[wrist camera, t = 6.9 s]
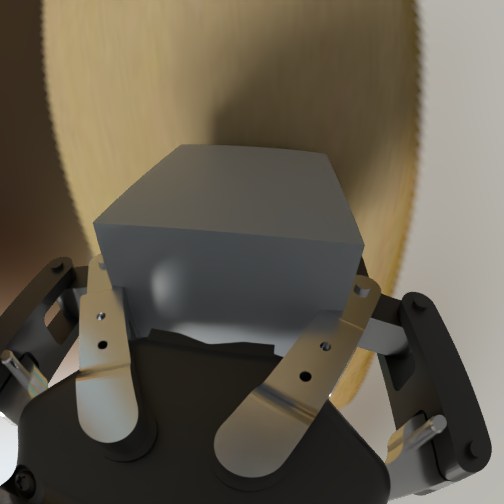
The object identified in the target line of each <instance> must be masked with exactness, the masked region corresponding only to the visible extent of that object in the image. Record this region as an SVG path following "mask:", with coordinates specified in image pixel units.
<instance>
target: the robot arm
mask: <svg viewBox="0 0 504 504" xmlns="http://www.w3.org/2000/svg"><path fill="white" fill-rule="evenodd" d="M55 301H57V303H58V305H59V307H60V311H59V312H58V313H57V315H56V316H55V317H54V319H53V320H52V321H51V322H50V324H49V325H48V326H47V327H46V325H45V323H44V317H45V314H46V312H47V311H48V310H49V308H50V307H51V306H52V305H53V303H54V302H55ZM78 336H79V365H80V366H79V367H80V369H79V370H78V371H76V372H74V373H73V374H71V375H70V376H68V377H66V378H65V379H63V380H61V381H60V382H58V383H57V384H55V385H53V386H52V387H50V388H48V383H49V382H50V380H51V378H52V377H53V375H54V373H55V372H56V370H57V369H58V367H59V365H60V364H61V362H62V360H63V359H64V357H65V356H66V354H67V353H68V351H69V350H70V348H71V347H72V345H73V344H74V342H75V341H76V339H77V337H78ZM357 347H360V348H363V349H367V350H370V351H373V352H376V353H377V356H378V359H379V363H380V366H381V370H382V373H383V377H384V380H385V385H386V389H387V392H388V396H389V400H390V405H391V409H392V413H393V417H394V422H395V426H396V432H394V434H392V436H391V437H390V439H389V442H388V446H387V448H388V454H387V459H386V461H385V463H384V462H383V461H382V460H381V458H380V457H379V456H378V455H377V454H376V453H375V451H374V450H373V449H372V448H371V447H370V446H369V445H368V444H367V443H366V441H365V440H364V439H363V438H362V437H361V436H360V435H359V434H358V433H357V431H356V430H355V429H354V428H353V427H352V426H351V425H350V423H349V422H348V421H347V420H346V419H345V418H344V417H343V415H342V414H341V413H340V412H339V411H338V410H337V409H336V407H335V406H334V405H333V404H332V403H331V402H330V400H329V398H330V396H331V394H332V393H333V391H334V389H335V387H336V386H337V384H338V382H339V380H340V378H341V377H342V375H343V373H344V371H345V369H346V368H347V366H348V364H349V362H350V360H351V358H352V356H353V354H354V352H355V350H356V349H357ZM274 349H275V345H273V344H262V343H252V342H233V343H220V344H207V343H204V342H201V341H199V340H196V339H194V338H191V337H188V336H186V335H183V334H181V333H177V332H171V331H165V330H159V329H153V328H151V331H150V333H149V335H148V337H141V335H140V332H139V330H137V327H136V325H135V322H134V319H133V316H132V313H131V310H130V307H129V302H128V297H127V294H126V291H125V288H124V287H121V286H114V285H111V283H110V280H109V277H108V273H107V270H106V267H105V264H104V261H103V257H102V254H98V255H97V256H95V257H94V258H93V259H92V260H91V261H90V263H89V266H82V267H74V265H73V263H72V260H71V259H70V258H68V257H59V258H56V259H54V260H52V261H51V262H49V263H48V264H47V265H46V266H45V267H44V268H43V269H42V270H41V271H40V272H39V273H38V274H37V275H36V277H35V278H34V279H33V280H32V281H31V282H30V283H29V284H28V285H27V286H26V287H25V288H24V290H23V291H22V292H21V293H20V294H19V295H18V296H17V297H16V299H15V300H14V301H13V302H12V303H11V305H9V307H8V308H7V309H6V310H5V312H4V313H3V314H2V315H1V316H0V416H2V417H3V418H4V419H6V420H7V421H8V422H9V423H11V424H12V425H15V426H18V460H17V466H16V469H15V471H14V473H13V475H12V476H11V477H10V478H9V480H7V481H6V482H5V483H4V484H2V485H1V486H0V504H387V502H388V501H390V500H394V499H398V498H401V497H404V496H408V495H411V494H415V495H426V494H429V493H431V492H434V491H436V490H439V489H441V488H444V487H446V486H449V485H451V484H453V483H455V482H457V481H460V480H462V479H464V478H466V477H468V476H470V475H472V474H474V473H476V472H478V471H480V470H482V469H483V468H484V467H485V466H486V465H487V463H488V462H489V460H490V457H491V452H492V447H491V441H490V438H489V434H488V431H487V428H486V425H485V421H484V418H483V415H482V412H481V409H480V407H479V404H478V401H477V399H476V395H475V393H474V390H473V387H472V385H471V382H470V380H469V377H468V375H467V372H466V370H465V368H464V365H463V363H462V361H461V358H460V356H459V354H458V351H457V349H456V347H455V345H454V343H453V341H452V339H451V336H450V334H449V332H448V330H447V328H446V326H445V324H444V322H443V320H442V318H441V316H440V314H439V312H438V310H437V309H436V307H435V305H434V303H433V302H432V301H431V300H430V299H429V298H428V297H427V296H425V295H423V294H421V293H417V292H409V293H407V294H405V295H404V296H403V298H402V300H398V299H395V298H392V297H389V296H386V295H384V294H382V293H381V288H380V286H379V285H378V284H377V282H375V281H374V280H373V279H371V278H369V276H368V273H367V270H366V267H365V264H364V260H363V258H362V256H361V259H360V263H359V266H358V269H357V272H356V276H355V279H354V282H353V285H352V288H351V291H350V294H349V297H348V300H347V303H346V306H345V309H344V311H339V310H325V311H324V310H322V309H320V310H319V311H318V312H317V314H316V315H315V317H314V318H313V319H312V321H311V322H310V323H309V325H308V326H307V327H306V329H305V330H304V332H303V333H302V334H301V336H300V337H299V338H298V340H297V341H296V342H295V343H294V345H293V346H292V347H291V349H290V350H289V351H288V353H287V354H286V355H285V356H284V357H282V356H279V355H276V354H274Z"/></svg>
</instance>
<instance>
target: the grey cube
mask: <svg viewBox="0 0 504 504" xmlns="http://www.w3.org/2000/svg"><path fill="white" fill-rule="evenodd" d="M93 225H94V229H95V232H96V236H97V240H98V244H99V247H100V251H101V254H102V257H103V261H104V264H105V267H106V270H107V273H108V277H109V280H110V283H111V285H114V286H121V287H124V288H125V291H126V294H127V297H128V302H129V307H130V310H131V313H132V316H133V319H134V322H135V325H136V327H137V330H139V332H140V335H141V337H148V335H149V333H150V331H151V328H153V329H159V330H165V331H171V332H177V333H181V334H183V335H186V336H188V337H191V338H194V339H196V340H199V341H201V342H204V343H207V344H220V343H233V342H252V343H262V344H273V345H275V349H274V354H276V355H279V356H282V357H284V356H285V355H286V354H287V353H288V351H289V350H290V349H291V347H292V346H293V345H294V343H295V342H296V341H297V340H298V338H299V337H300V336H301V334H302V333H303V332H304V330H305V329H306V327H307V326H308V325H309V323H310V322H311V321H312V319H313V318H314V317H315V315H316V314H317V312H318V311H319V310H320V309H322V310H324V311H325V310H339V311H344V309H345V306H346V303H347V300H348V297H349V294H350V291H351V288H352V285H353V282H354V279H355V276H356V272H357V269H358V266H359V263H360V259H361V256H362V253H363V249H364V246H365V245H364V242H363V239H362V237H361V234H360V231H359V229H358V226H357V224H356V221H355V219H354V216H353V214H352V211H351V209H350V206H349V204H348V202H347V199H346V197H345V195H344V192H343V190H342V188H341V185H340V183H339V181H338V179H337V176H336V174H335V172H334V170H333V168H332V165H331V163H330V161H329V159H328V157H327V155H326V153H318V152H309V151H300V150H290V149H279V148H266V147H251V146H231V145H180V146H179V147H178V148H176V149H175V150H174V151H172V152H171V153H170V154H169V155H167V156H166V157H165V158H164V159H163V160H161V161H160V162H159V163H158V164H156V165H155V166H154V167H153V168H152V169H150V170H149V171H148V172H147V173H146V174H145V175H143V176H142V177H141V178H140V179H139V180H138V181H137V182H135V183H134V184H133V185H132V186H131V187H130V188H129V189H128V190H126V191H125V192H124V193H123V194H122V195H121V196H120V197H119V198H118V199H117V200H116V201H115V202H113V203H112V204H111V205H110V206H109V207H108V208H107V209H106V210H105V211H104V212H103V213H102V214H101V215H100V216H99V217H98V218H97V219H96V220H95V221H94V222H93Z"/></svg>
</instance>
